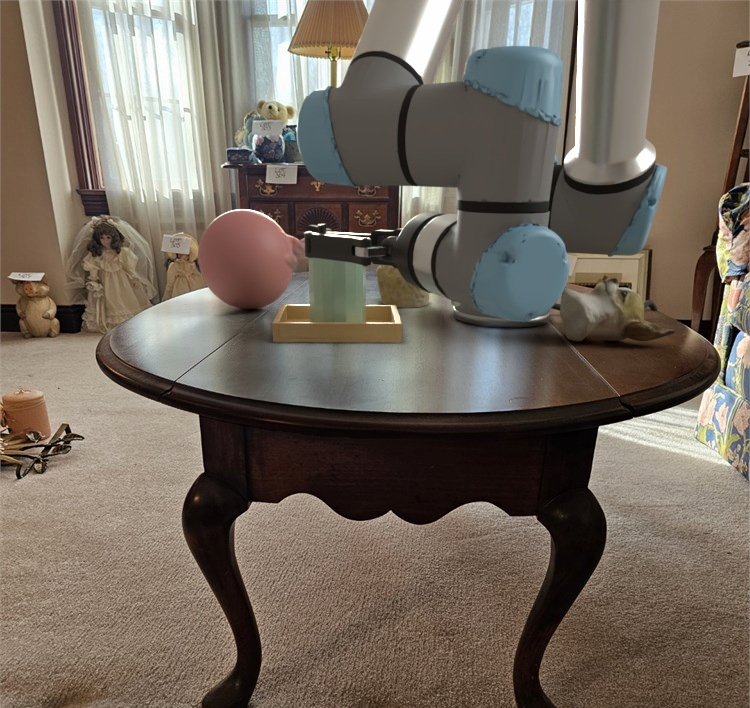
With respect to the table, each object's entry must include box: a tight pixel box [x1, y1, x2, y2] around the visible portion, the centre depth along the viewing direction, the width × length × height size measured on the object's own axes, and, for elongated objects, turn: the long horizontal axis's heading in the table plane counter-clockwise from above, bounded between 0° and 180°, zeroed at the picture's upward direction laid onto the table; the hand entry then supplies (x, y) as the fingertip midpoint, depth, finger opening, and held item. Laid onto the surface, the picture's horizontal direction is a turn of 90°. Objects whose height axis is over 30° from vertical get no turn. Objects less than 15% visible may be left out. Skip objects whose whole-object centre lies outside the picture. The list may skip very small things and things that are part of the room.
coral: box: [376, 265, 431, 309], centre depth 115 cm, size 9×9×8 cm
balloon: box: [197, 208, 308, 310], centre depth 107 cm, size 15×20×15 cm
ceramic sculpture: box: [559, 277, 676, 342], centre depth 91 cm, size 11×9×15 cm
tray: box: [271, 304, 403, 344], centre depth 95 cm, size 18×14×3 cm
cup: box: [307, 258, 367, 322], centre depth 93 cm, size 8×8×11 cm
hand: (363, 235), depth 82 cm, fingers open, 13 cm apart
